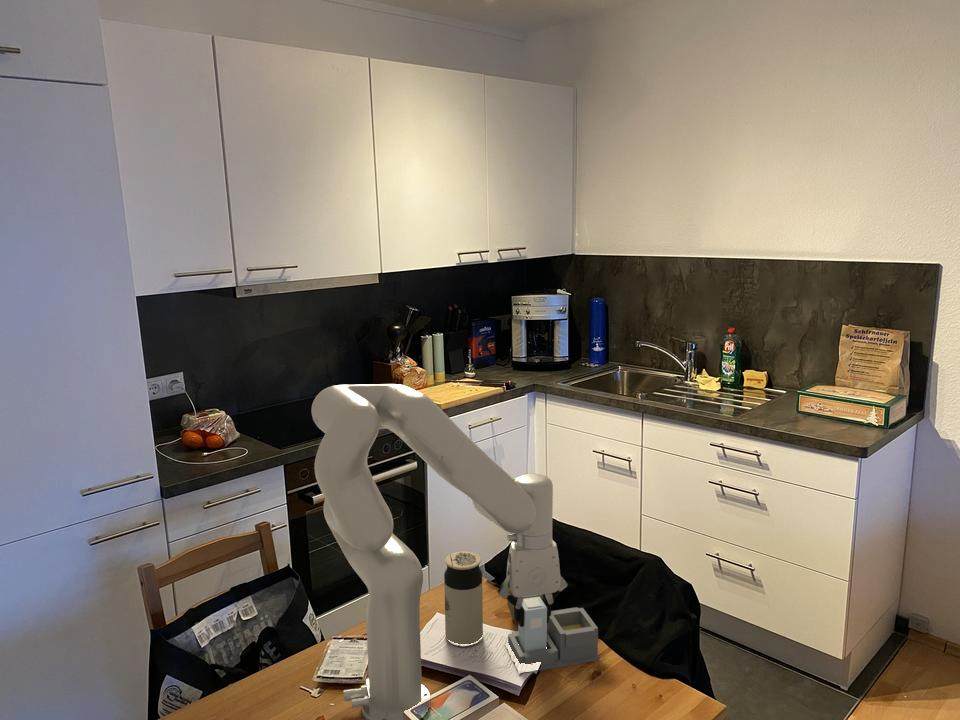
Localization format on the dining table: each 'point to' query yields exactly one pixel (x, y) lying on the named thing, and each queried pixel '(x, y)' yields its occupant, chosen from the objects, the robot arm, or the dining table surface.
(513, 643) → the block
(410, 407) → the robot arm
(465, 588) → the travel mug
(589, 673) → the dining table surface
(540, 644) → the plug
